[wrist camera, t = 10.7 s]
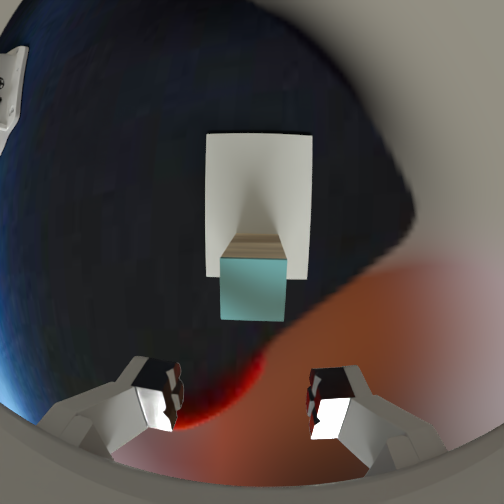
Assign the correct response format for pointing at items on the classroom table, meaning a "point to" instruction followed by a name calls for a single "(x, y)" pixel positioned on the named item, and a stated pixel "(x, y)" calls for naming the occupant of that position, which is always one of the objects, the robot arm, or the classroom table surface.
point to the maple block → (253, 278)
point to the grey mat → (258, 194)
